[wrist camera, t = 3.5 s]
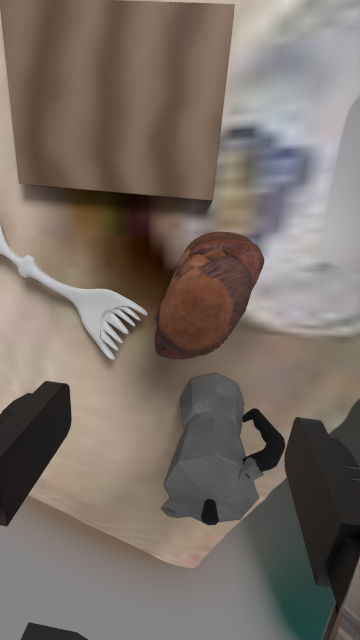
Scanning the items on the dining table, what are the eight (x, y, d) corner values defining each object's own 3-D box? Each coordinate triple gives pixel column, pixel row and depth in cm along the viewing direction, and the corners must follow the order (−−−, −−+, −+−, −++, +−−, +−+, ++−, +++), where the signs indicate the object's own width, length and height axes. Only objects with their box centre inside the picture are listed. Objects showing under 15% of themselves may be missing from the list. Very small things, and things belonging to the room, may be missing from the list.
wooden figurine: (206, 212, 34) (196, 215, 17) (253, 239, 34) (288, 268, 18) (160, 297, 38) (117, 366, 21) (203, 320, 39) (193, 405, 22)
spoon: (119, 352, 42) (111, 364, 39) (-83, 214, 38) (-111, 214, 35) (153, 305, 39) (148, 314, 36) (-64, 149, 35) (-92, 143, 32)
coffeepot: (198, 440, 46) (189, 574, 29) (158, 400, 44) (122, 518, 27) (282, 390, 41) (328, 515, 24) (240, 342, 39) (259, 442, 22)
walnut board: (233, 18, 27) (234, 4, 26) (212, 200, 33) (212, 200, 31) (12, 9, 29) (-2, -4, 27) (29, 185, 35) (19, 183, 33)
